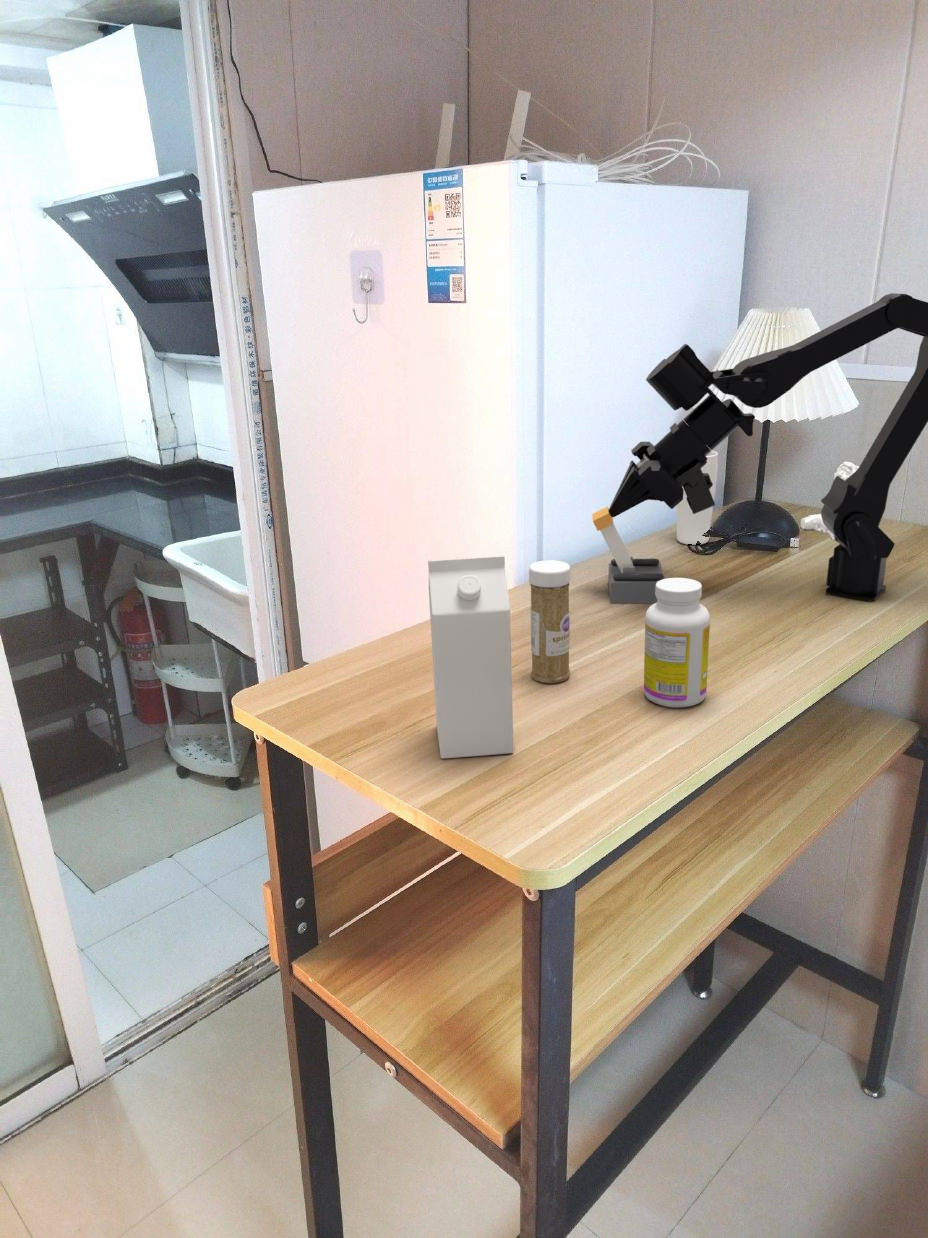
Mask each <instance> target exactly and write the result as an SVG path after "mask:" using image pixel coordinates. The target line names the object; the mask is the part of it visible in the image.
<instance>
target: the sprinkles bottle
mask: <svg viewBox="0 0 928 1238" xmlns="http://www.w3.org/2000/svg"><path fill="white" fill-rule="evenodd" d="M571 575H572V573H571V566H570V564H569V563H567V562H564V561H560V560H553V559H552V560H539V561H535V562H533V563H531V564H530V565H529V568H528V581H529V583H530V584H529V586H530V651H531V663H532V664H531V672H530V675H531V677H532V678H533V680H534V681H536V682H539V683H545V684H556V683H561V682H564V681H566V680H567V679H569V678H570V676H571V671H570V648H571V647H570V646H571V645H570V643H571V642H570V639H571V638H570V636H571V635H570V633H571V632H570V627H571V626H570V599H569V598H570V582H571Z"/></svg>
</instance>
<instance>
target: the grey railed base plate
mask: <svg viewBox="0 0 928 1238" xmlns="http://www.w3.org/2000/svg"><path fill="white" fill-rule="evenodd" d="M630 558H631V560H632V563H633V566H623V573H621V571H620V569H619V567H618V565H617V563H616V561H615V559H614V558H612V559H611V560H610V562H609V563H608V576H607V577H608V584H607V585H608V590H609V599H610V600H609V601H610V604H655V603H657V598H656V595H655V590H656V583H657V582H658V581H660V580H663V579H666V577H665V573H664V570H663V567H662V564H661V563H660V559H658V558H634V557H633V556H630Z"/></svg>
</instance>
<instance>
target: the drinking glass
mask: <svg viewBox="0 0 928 1238" xmlns="http://www.w3.org/2000/svg"><path fill="white" fill-rule="evenodd" d="M710 450H711V449H710ZM706 457H707V460H706V461H707V463H706V464H705V465H704V466H703V467H702V468H701V471H702V473H708V474H709V476H710V479H711V482H712V483H713V485H712V487H711V488H710V489H709V490H710V493H711V495H712V498H713V500H714V501H715V495H716V490H717V489H716V488H717V481H718V472H719V453H718V452H717V451H715V450H711V452H710V453H709V454H708V455H707V456H706ZM682 488H683V486H682ZM683 490H684V488H683ZM686 498H687V495H686V493H685V490H684V491H683V500H682V501H681V502H680V503H679V504H677V505H676V506H675V510H676V513H675V514H676V540H677V542H679V543H680V544H684V545H688V544H692V545H691V546H697V545H696V543H697V541H699V542H700V543H701V544H700V545H704V544H706V543H708V542H709V540H710V536H709V537H705V536H702V535H703V534H704V533H706V532H707V531H708V530H709V529H710V530H711V525H712V524H711V523H712V518H713V517H712V516H713V509H714V506H712V507H710V508H708V509H705V510H703V511H700V512H698V513H696V514H693V512H692V510H691V509H690V506H689V504H688V502H687V499H686ZM688 546H689V545H688Z"/></svg>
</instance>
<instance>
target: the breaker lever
mask: <svg viewBox="0 0 928 1238" xmlns="http://www.w3.org/2000/svg"><path fill="white" fill-rule="evenodd" d="M609 508H610V507H608V506H605V507H604V508H602V509H599V510H597V511H595V512H593V513H591V516H592V522H593V524H594V527H595V528H596V530H597V532H599V531H600V532H601V535H602V537H603V539H604V541H605V543H606V544H607V547H608V549H609V551H610V553H611V555H612V556H613V559H615V561H616V563H617V565H618V567H619V569H620V571H621V573H623V566H633V563H632V560H631V558H630V557H631V556H630V554H629V551H627V548H626V545H625V544H624V542H623V540H622V537H621V536H620V533H619V532H618V530H617V529H616V526H615V524H614V523H615V522H614V519H613V518H614V517H612V516H611V515H610V513H609V511H608V510H609Z"/></svg>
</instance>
